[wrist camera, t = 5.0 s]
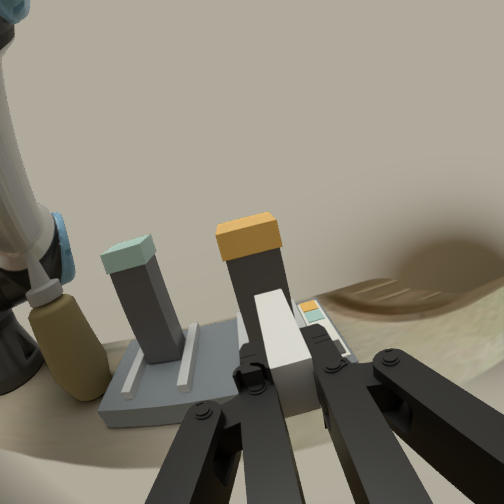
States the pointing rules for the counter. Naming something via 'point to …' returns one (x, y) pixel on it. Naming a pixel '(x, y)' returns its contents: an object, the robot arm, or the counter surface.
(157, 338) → the mint capped grey block
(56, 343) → the squeeze bottle
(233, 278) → the orange capped grey block
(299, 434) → the counter surface
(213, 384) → the console
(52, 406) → the counter surface
